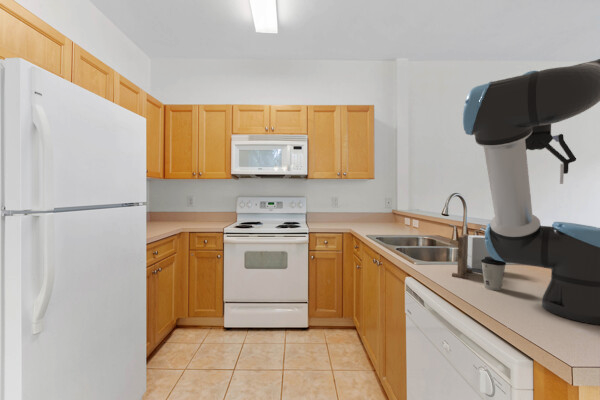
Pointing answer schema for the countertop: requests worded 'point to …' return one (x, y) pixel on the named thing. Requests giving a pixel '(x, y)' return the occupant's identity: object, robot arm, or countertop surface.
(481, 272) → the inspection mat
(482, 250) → the supplement box
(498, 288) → the coffee cup
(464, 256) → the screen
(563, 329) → the countertop surface
